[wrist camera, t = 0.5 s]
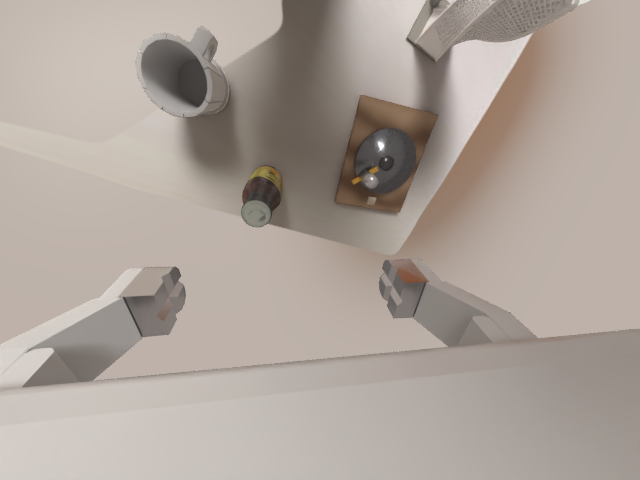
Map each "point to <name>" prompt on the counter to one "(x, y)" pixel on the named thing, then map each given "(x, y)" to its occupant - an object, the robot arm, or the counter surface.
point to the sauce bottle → (261, 196)
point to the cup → (183, 74)
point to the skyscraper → (482, 21)
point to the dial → (384, 160)
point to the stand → (367, 121)
